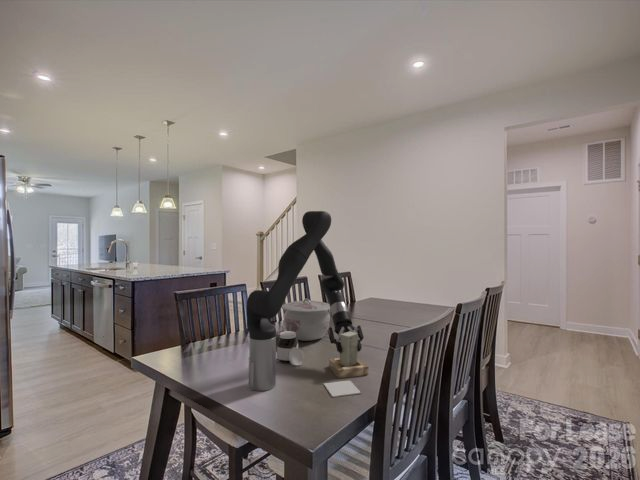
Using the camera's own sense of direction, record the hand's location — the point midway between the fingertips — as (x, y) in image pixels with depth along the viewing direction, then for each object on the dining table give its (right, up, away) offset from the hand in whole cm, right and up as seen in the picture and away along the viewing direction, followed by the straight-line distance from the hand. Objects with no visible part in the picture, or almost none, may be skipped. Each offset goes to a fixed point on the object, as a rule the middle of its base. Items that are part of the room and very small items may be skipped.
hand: (350, 351), depth 129 cm
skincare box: (0, -6, +1) cm, 6 cm away
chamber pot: (-19, -8, +46) cm, 50 cm away
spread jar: (-24, -8, +10) cm, 27 cm away
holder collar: (-1, -8, +1) cm, 8 cm away
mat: (-4, -8, -16) cm, 18 cm away
